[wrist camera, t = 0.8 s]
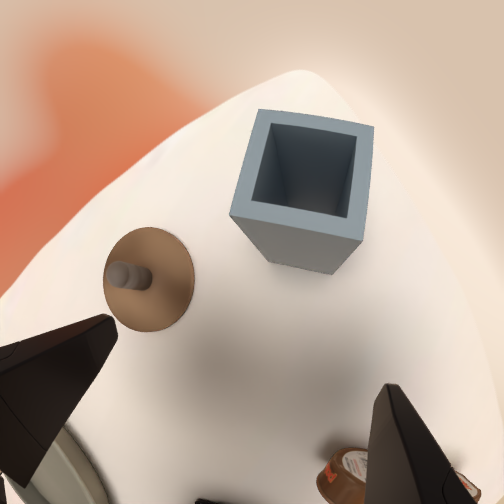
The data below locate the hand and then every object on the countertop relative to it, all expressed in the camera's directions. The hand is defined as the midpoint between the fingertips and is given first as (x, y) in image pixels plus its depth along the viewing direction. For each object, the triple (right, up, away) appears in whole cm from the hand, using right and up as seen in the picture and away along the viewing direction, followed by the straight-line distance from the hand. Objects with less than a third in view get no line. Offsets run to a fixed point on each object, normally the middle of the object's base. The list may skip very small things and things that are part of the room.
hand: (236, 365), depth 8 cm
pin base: (-9, +1, +16) cm, 18 cm away
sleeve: (+5, +5, +14) cm, 16 cm away
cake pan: (-27, -26, +15) cm, 40 cm away
